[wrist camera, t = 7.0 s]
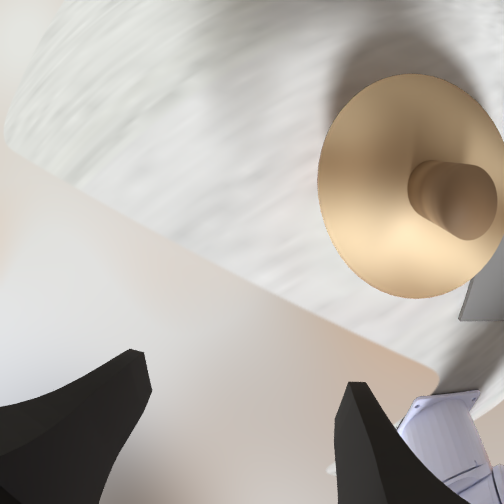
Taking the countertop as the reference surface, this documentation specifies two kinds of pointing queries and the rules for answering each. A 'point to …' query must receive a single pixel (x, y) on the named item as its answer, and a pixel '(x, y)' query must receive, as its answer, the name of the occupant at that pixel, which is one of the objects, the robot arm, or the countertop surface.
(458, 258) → the lid
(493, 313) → the mat
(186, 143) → the countertop surface
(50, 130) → the countertop surface
